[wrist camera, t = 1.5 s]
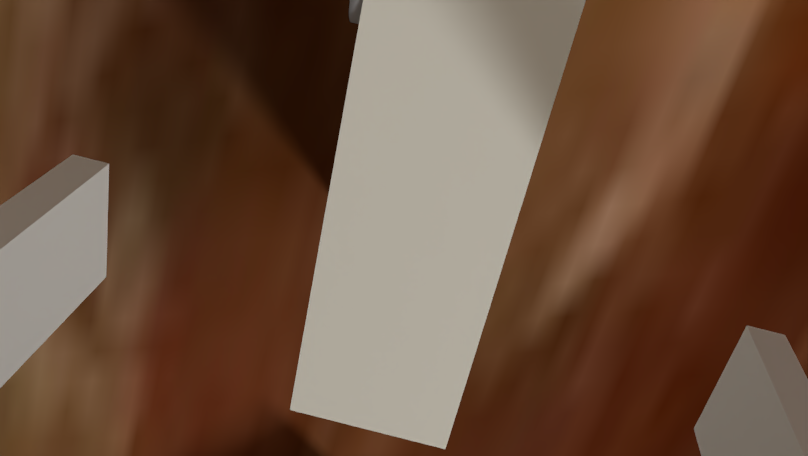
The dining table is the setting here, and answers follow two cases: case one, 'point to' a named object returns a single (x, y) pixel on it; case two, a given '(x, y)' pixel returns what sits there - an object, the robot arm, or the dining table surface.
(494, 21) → the grey rectangular block
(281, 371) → the dining table surface
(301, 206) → the dining table surface
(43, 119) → the dining table surface
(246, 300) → the dining table surface
